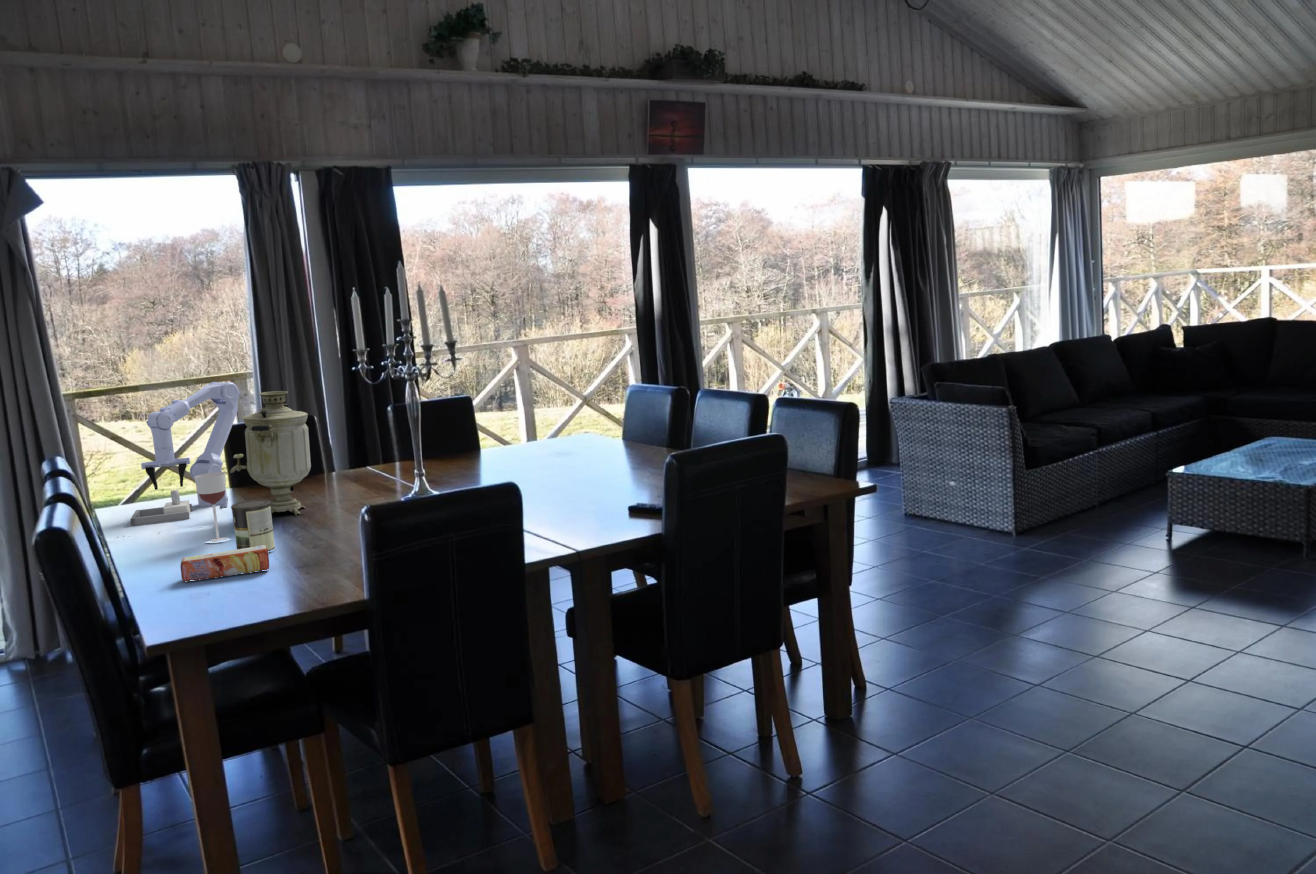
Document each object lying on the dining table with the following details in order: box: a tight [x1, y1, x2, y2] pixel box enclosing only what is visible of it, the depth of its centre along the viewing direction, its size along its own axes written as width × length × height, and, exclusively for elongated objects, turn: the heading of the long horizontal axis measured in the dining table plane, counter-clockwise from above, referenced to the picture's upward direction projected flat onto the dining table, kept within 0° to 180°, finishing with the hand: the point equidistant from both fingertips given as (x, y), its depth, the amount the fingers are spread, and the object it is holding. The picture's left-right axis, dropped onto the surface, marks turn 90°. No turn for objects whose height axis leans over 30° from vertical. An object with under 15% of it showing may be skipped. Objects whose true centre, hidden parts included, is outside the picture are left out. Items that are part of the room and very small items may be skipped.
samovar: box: [229, 390, 312, 516], centre depth 340 cm, size 30×26×40 cm
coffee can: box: [230, 499, 276, 551], centre depth 292 cm, size 10×10×14 cm
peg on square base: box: [163, 489, 191, 516], centre depth 340 cm, size 7×9×8 cm
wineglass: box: [194, 471, 227, 542], centre depth 307 cm, size 8×9×20 cm
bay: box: [130, 503, 194, 527], centre depth 339 cm, size 17×14×4 cm
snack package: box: [180, 545, 270, 582], centre depth 270 cm, size 21×7×7 cm, turn 109°
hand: (169, 487), depth 345 cm, fingers open, 7 cm apart
